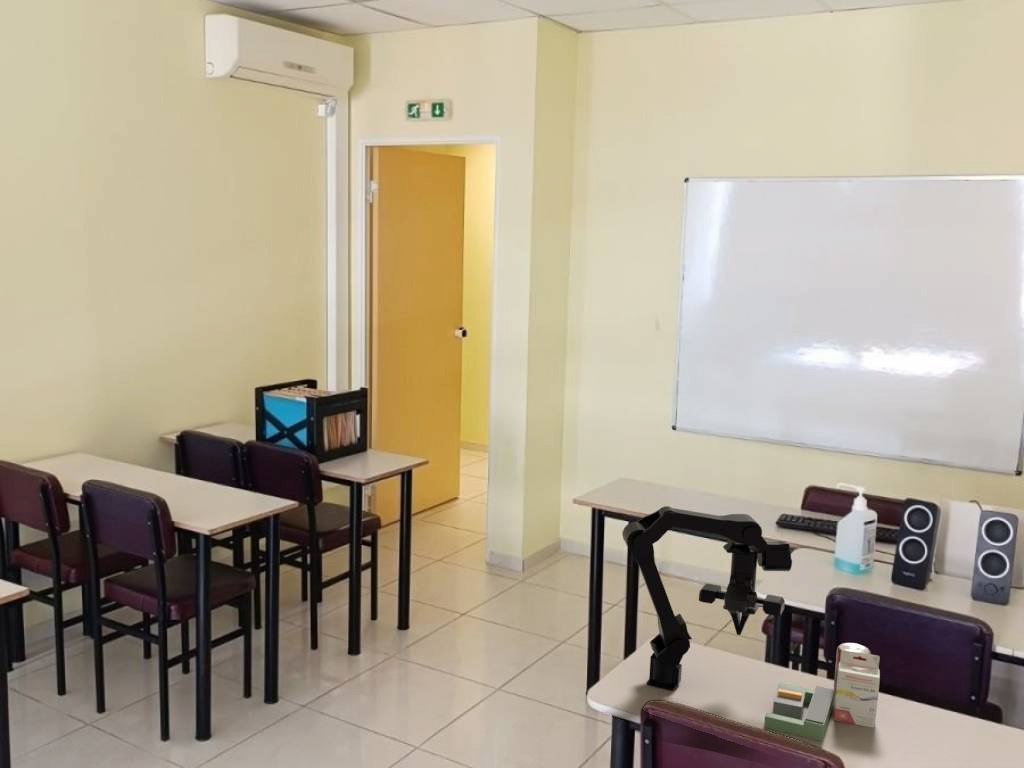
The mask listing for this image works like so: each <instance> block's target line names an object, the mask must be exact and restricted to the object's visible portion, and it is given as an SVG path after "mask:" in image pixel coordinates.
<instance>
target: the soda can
mask: <svg viewBox="0 0 1024 768" xmlns="http://www.w3.org/2000/svg"><path fill="white" fill-rule="evenodd" d="M841 650H847V651H854V652H860V653H866V654H871V655H872V652H871V650H869V648H868V647H867V646H864V645H862V644H858V643H856V642H843V643H841V644H840V645H838V646H837V648H836V656H835V659H836V660H835V667H834V668H835V669H834V670H835V671H834V679H833V681H834V682H833V690H835V691H834V697H835V695H836V686H837V676H838V666H839V662H840V656H841ZM853 659H857V660H862V661H866V660H867V659H865V658H862V657H861V656H859V657H853Z"/></svg>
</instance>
